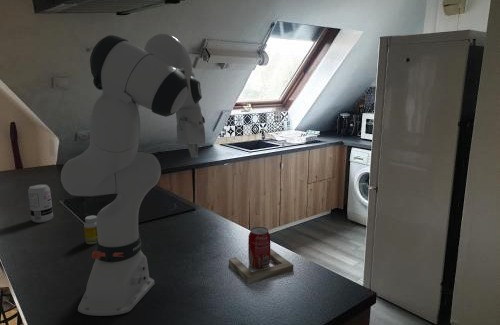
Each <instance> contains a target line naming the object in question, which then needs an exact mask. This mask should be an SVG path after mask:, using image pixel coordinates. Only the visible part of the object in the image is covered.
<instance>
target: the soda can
mask: <svg viewBox="0 0 500 325" xmlns="http://www.w3.org/2000/svg"><path fill="white" fill-rule="evenodd" d="M247 241H248V246H247V247H248V252H247V253H248V264H249V266H250V267H251V268H254V269H257V270H260V269H264V268H268V266H270V263H271V260H270V249H271V234H270V233H269V229H268V228H267V227H262V226H255V227H252V228H250V232H249V234H248V240H247Z"/></svg>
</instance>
